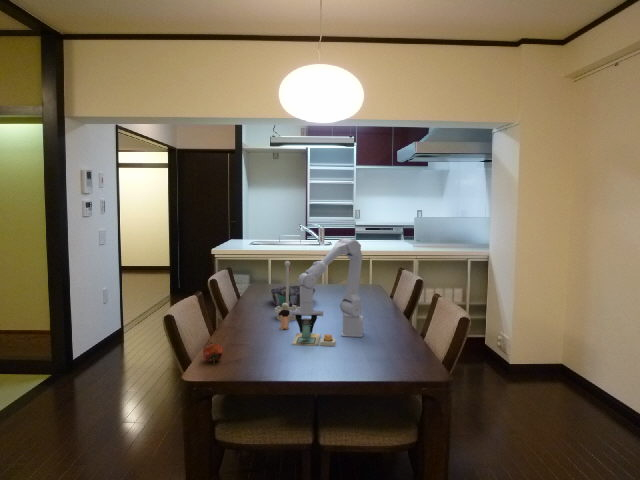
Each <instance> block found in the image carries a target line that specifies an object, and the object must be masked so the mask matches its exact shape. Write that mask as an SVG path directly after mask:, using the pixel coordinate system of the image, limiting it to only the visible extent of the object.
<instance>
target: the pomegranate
mask: <svg viewBox="0 0 640 480" xmlns="http://www.w3.org/2000/svg"><path fill="white" fill-rule="evenodd" d="M202 352H203V355H202V356H203V358H204V360H205V361H206V362H208V363H210V362H213V365H214V366H215V365H216V364H215V362H217V361H220V360H221V359H222V357H223V355H224V349H223V347H222V346H221V345H220V344H219V343H215V342H214V343H213V342H212V341H211V342H210V344H208V345H206V346H205V347H204V349H203V351H202Z"/></svg>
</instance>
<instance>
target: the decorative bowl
mask: <svg viewBox="0 0 640 480" xmlns="http://www.w3.org/2000/svg"><path fill="white" fill-rule="evenodd" d="M269 292H270V294H271V297H272V300H273V303H274V305H276V307H277V306H281V307H282V304H283V303H286V285H284V286H278V287H274V288H271V289H270V290H269ZM315 292H316V289H315V288H314V287H313V296H314V295H315ZM292 305H295V306H297V307H300V285H289V307H292Z"/></svg>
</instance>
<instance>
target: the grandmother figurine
mask: <svg viewBox="0 0 640 480" xmlns="http://www.w3.org/2000/svg"><path fill="white" fill-rule="evenodd" d="M282 307H283V310H281V311H280V313H279V314H278V316H277V315H276V319H277V318H279V317H280V315H282V316H281V320H280V327H279V330H280V331H281V330H283V331H284V330H286V331H287V330H290V328H289V325H290V321H289V316H288V315H289V312H290V311H289V310H287V309H288V307H289V305H288V304H287V303H283V304H282ZM291 317H292V318H293V317H294V316H291Z"/></svg>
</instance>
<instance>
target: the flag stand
mask: <svg viewBox="0 0 640 480" xmlns="http://www.w3.org/2000/svg"><path fill="white" fill-rule="evenodd" d="M284 266H285V286H286V303H287V304H288V305H289V286H290V279H289V278H290V271H291V268H290V266H291V262H290V261H289V260H285V262H284ZM281 310H283V307H281V306H277V305H276V307H274V314H275V315H276V319H277V320H278V321H281V316H282V315H280V317H279V318H277V316H278V314H279V313H280V311H281ZM287 310H289V311H294V310H300V307H297V306H295V305H292V307H288V309H287ZM288 316H289V315H288ZM290 321H296V316H294V317H293V318H292V317H291V316H289V322H290Z"/></svg>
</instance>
